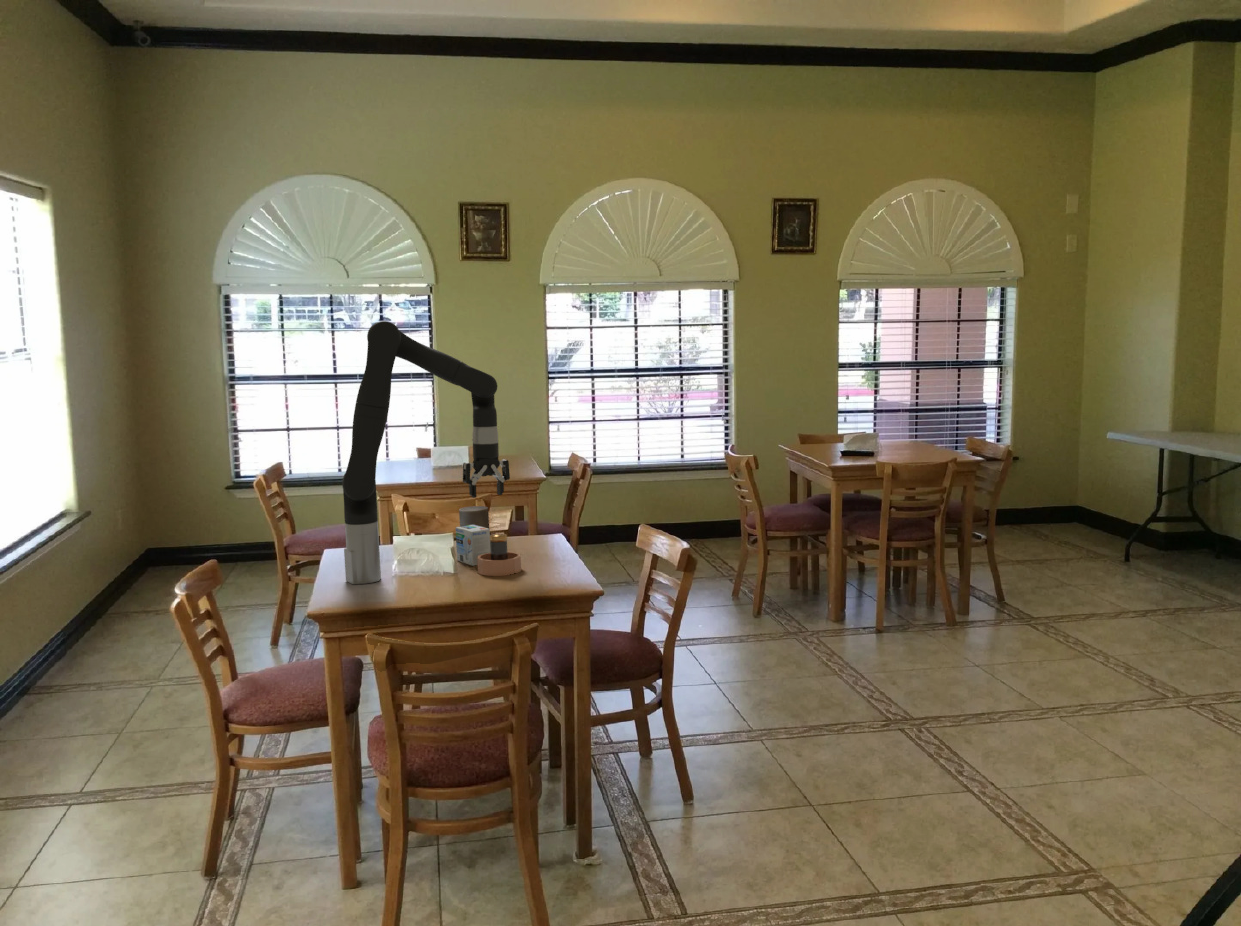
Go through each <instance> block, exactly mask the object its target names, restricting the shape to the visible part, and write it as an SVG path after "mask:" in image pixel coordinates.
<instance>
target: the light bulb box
mask: <svg viewBox="0 0 1241 926" xmlns="http://www.w3.org/2000/svg"><path fill="white" fill-rule="evenodd" d="M490 530H491V529H490V528H489V529H488V528H484V527H480V526H476V525H468V526H462V527H460V526H455V543H456V545H455V546H456V547H455V549H456V561H458V562H461V563H463V564H465V565H469V566H472V567H474V566H478V564H477V558H478V556H479V555H482V554H485V553H490V535H491V531H490Z"/></svg>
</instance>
